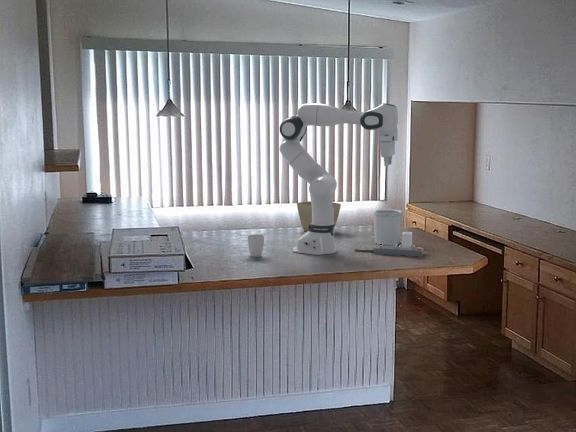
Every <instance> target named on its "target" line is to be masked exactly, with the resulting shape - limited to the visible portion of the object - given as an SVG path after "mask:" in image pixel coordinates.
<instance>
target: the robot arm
mask: <svg viewBox="0 0 576 432" xmlns="http://www.w3.org/2000/svg"><path fill="white" fill-rule="evenodd" d="M342 124H343V125H344V124H347V125H349V124H351V125H359V126H361V127H362V128H363V129H364V130H367V131H375V130H378V131H379V132H378V133H379V134H378V135H379V137H378V141H379V142H380V143H379V144H380V148H379V149H380V157H381V158H383V165H384V167H389V165H392V160H393V156H394V155H395V153H396V152H395V151H396V150H395V149H396V147H395V145H396V144H395V143H396V141H398V137H399V136H398V133H399V132H398V124H399V113H398V107H397V106H396V105H395V104H391V103H385V102H383V103H381V104H379V105H378V106H377V107H375V108H372V109H369V110H367V111H354V110H352V111H351V110H345V109H341V108H340V107H339V108H338V107H336V106H334V105H333V106H332V105H331V104H330V105H328V104H324V103H316V102H315V103H313V102H312V103H302V104H300V106H299V107H298V108H297V112H296V115H293V116H290V117H288V118H286V119H284V120H282V122H281V123H280V126H279V134H280V135H281V137H283V139H284V140H283V141H282V142H281V143H280V146H279V152H280V154H281V155H282V157H283V159H284V160H285V161H286V162H287V164H288V165H289V166H290V167H291V168H292V169H293V171H294V172H295V173H296V174H297V175H298V176H299V178H301V179H303V180H304V181H306V183H308V184H309V186H308V192H309V196H310V201H311V204H312V223H310V224H309V225H308V230H309V231H305V232H304V233H303V234H302V235H300V237H298V238H297V243H296V246H294V247H293V248H292V250H291V251H292V253H296V254H297V253H299V254H307V255H314V256H315V255H317V256H321V255H330V254H335V253H336V252H337V249H336V243H335V233H336V231H335V230H336V229H335V228H336V226H335V227H334V208H333V203H334V202H333V198H332V196H333V193H335V192H336V190H337V184H338V183H337V180H336V178H335V177H334V176H333V175H331V174H330V172H329V171H327V170H326V168H324V167H323V166H321V165H320V163H318V162H317V161H316V159H314V158H313V157H312V156H311V155H310V153H309V152H308V151H307V150H306V149H305V147H303V145H302V144H301V142H302V140H303V138H304V137H305V135H306V133H307V127H308V126H309V127H310V126H315V127H332V126H337V125H342ZM332 202H333V203H332Z"/></svg>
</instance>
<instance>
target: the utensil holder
mask: <svg viewBox="0 0 576 432" xmlns="http://www.w3.org/2000/svg"><path fill="white" fill-rule="evenodd" d="M373 215H374V218H373V220H374V222H373V225H374V227H373V228H374V231H373V232H374V243H375V244H376V243H377V244H376V245H379V244H382V243H386V244H397V245H400V243H401V226H402V224H401V222H402V210H398V209H394V208H393V209H392V208H381V209H380V208H379V209H375V210H374V211H373Z"/></svg>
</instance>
